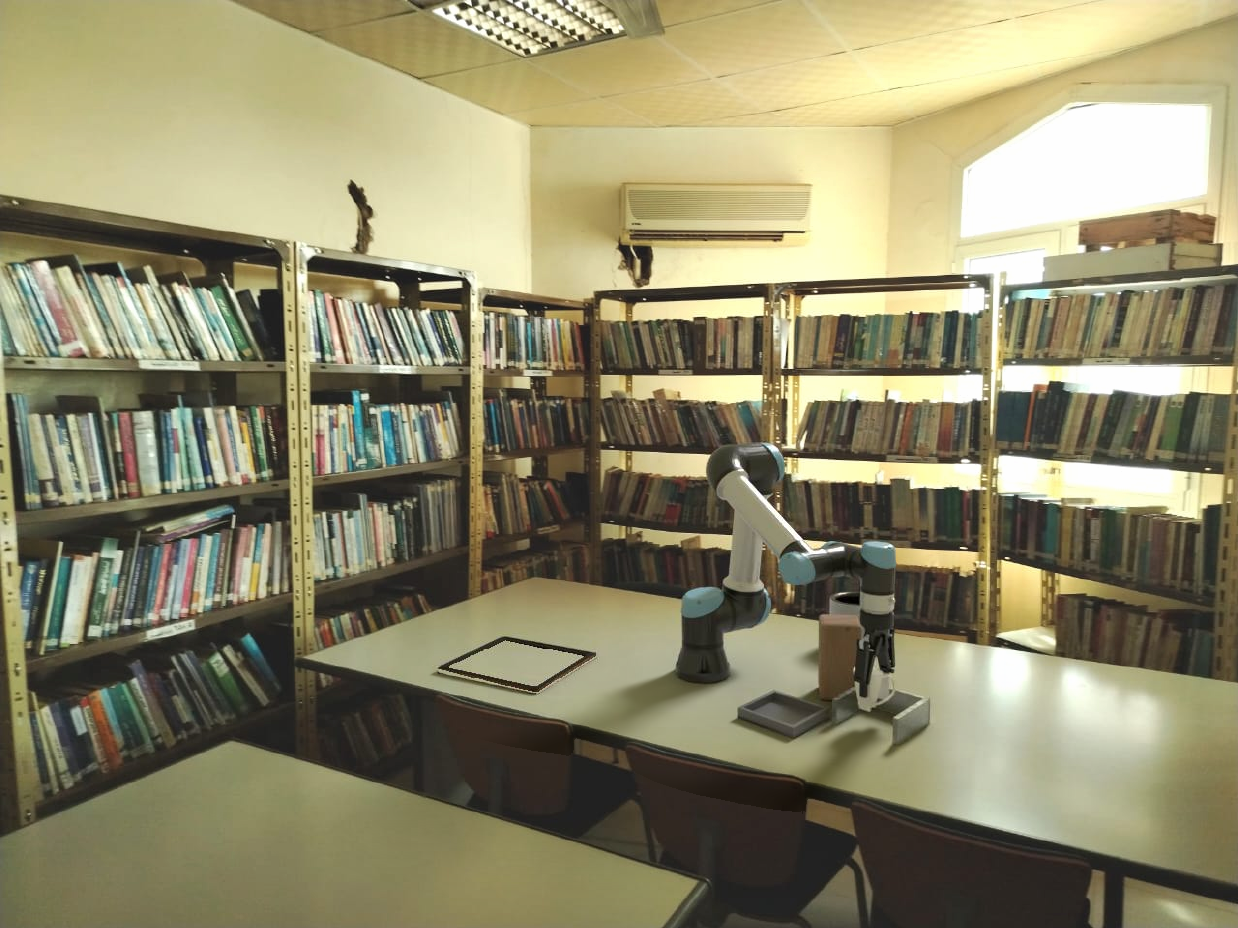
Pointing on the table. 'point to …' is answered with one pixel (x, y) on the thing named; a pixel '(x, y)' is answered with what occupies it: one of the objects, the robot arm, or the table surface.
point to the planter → (846, 605)
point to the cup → (876, 686)
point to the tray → (783, 713)
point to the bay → (903, 704)
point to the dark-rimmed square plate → (586, 654)
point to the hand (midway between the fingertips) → (873, 703)
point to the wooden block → (837, 653)
